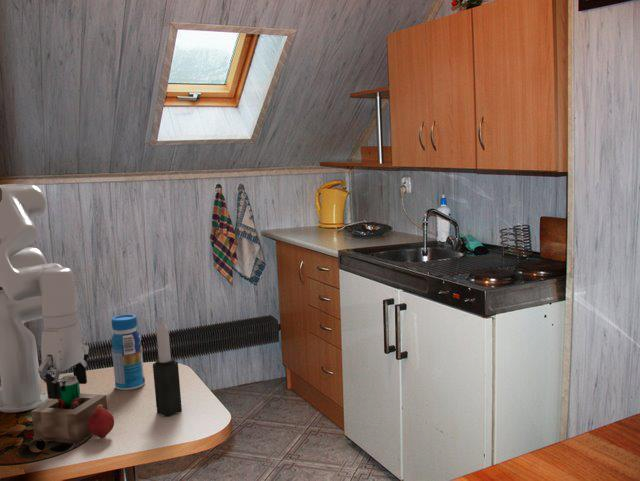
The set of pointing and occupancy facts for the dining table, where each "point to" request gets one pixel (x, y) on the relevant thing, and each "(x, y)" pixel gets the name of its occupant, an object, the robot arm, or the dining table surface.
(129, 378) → the beverage bottle
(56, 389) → the robot arm
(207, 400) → the dining table surface
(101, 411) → the onion
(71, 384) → the soda can
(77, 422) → the well block
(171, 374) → the black handled stick
